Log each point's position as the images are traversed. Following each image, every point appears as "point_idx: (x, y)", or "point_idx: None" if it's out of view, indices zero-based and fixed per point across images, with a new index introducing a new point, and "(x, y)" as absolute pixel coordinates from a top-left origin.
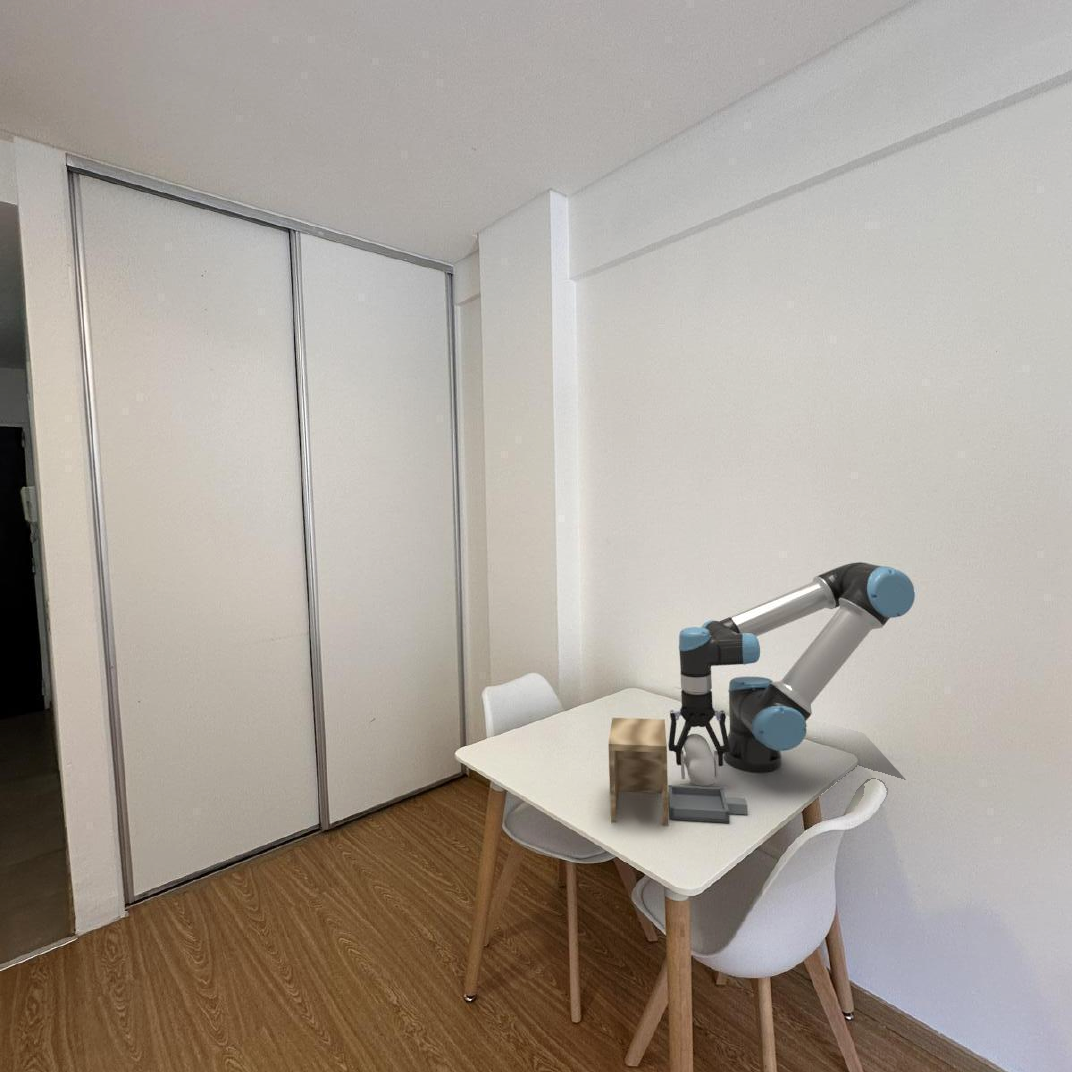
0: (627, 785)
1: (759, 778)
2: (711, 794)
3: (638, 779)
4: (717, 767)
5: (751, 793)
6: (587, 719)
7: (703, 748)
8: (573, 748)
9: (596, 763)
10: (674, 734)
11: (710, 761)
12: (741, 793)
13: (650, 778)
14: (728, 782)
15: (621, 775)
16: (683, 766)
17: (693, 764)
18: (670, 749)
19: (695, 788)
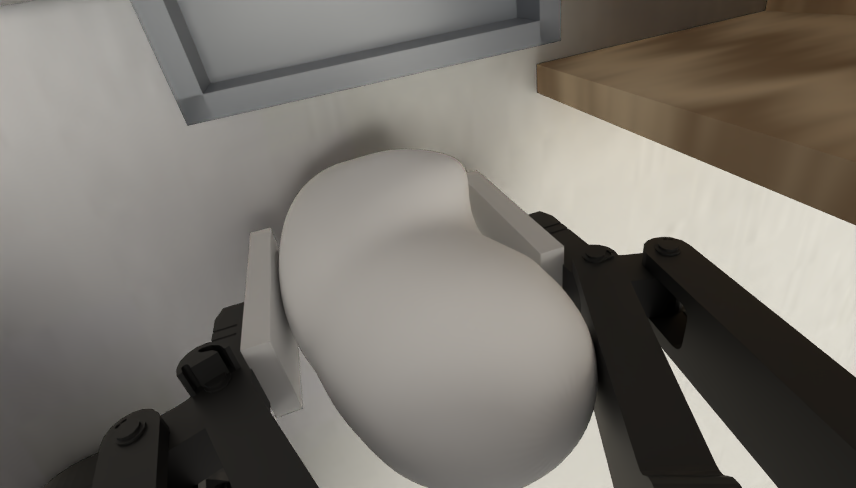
0: (753, 22)
1: (79, 403)
2: (269, 71)
3: (732, 40)
4: (256, 279)
5: (49, 239)
6: (750, 470)
7: (387, 321)
8: (837, 303)
9: (793, 234)
10: (769, 356)
11: (305, 272)
12: (111, 216)
13: (675, 56)
14: (228, 303)
15: (841, 19)
16: (500, 206)
17: (442, 186)
18: (671, 242)
19: (382, 53)
